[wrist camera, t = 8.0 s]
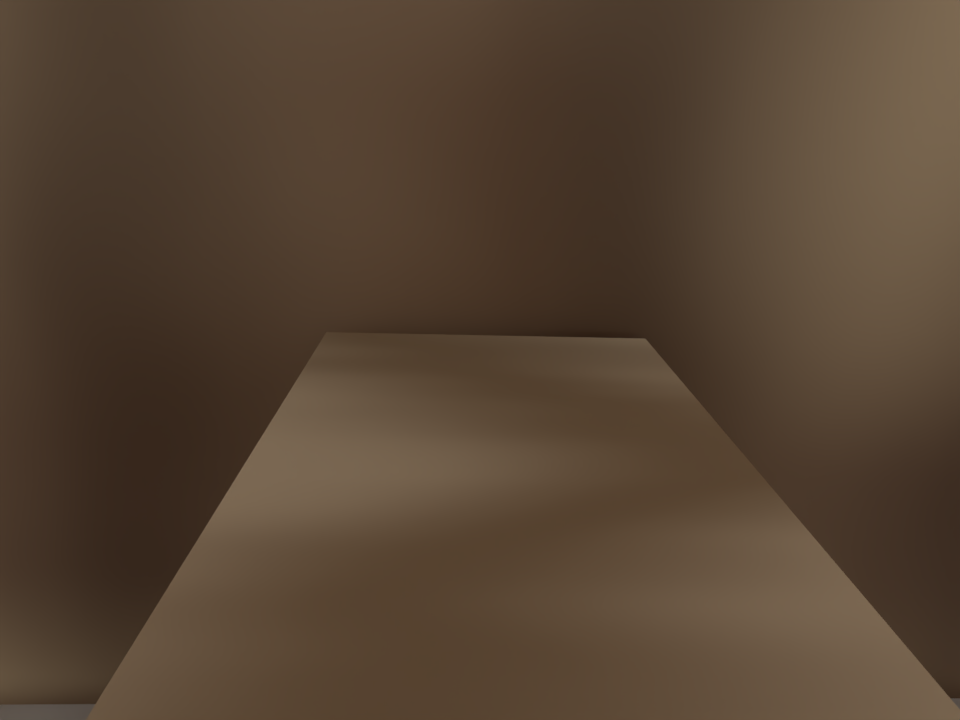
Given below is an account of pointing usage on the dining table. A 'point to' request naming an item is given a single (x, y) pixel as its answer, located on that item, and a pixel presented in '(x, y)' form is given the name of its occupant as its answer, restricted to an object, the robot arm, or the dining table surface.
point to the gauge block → (508, 557)
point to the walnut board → (465, 260)
